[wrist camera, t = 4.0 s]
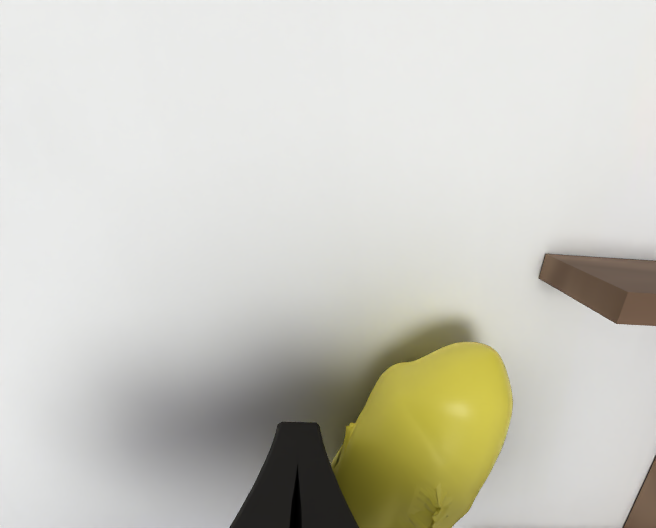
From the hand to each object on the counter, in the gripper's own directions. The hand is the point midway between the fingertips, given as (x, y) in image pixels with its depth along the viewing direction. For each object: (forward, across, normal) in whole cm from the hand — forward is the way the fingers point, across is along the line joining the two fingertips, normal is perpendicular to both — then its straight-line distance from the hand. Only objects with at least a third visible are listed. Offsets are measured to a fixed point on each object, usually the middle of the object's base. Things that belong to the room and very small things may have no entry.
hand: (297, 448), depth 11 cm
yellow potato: (+2, -3, 0) cm, 4 cm away
